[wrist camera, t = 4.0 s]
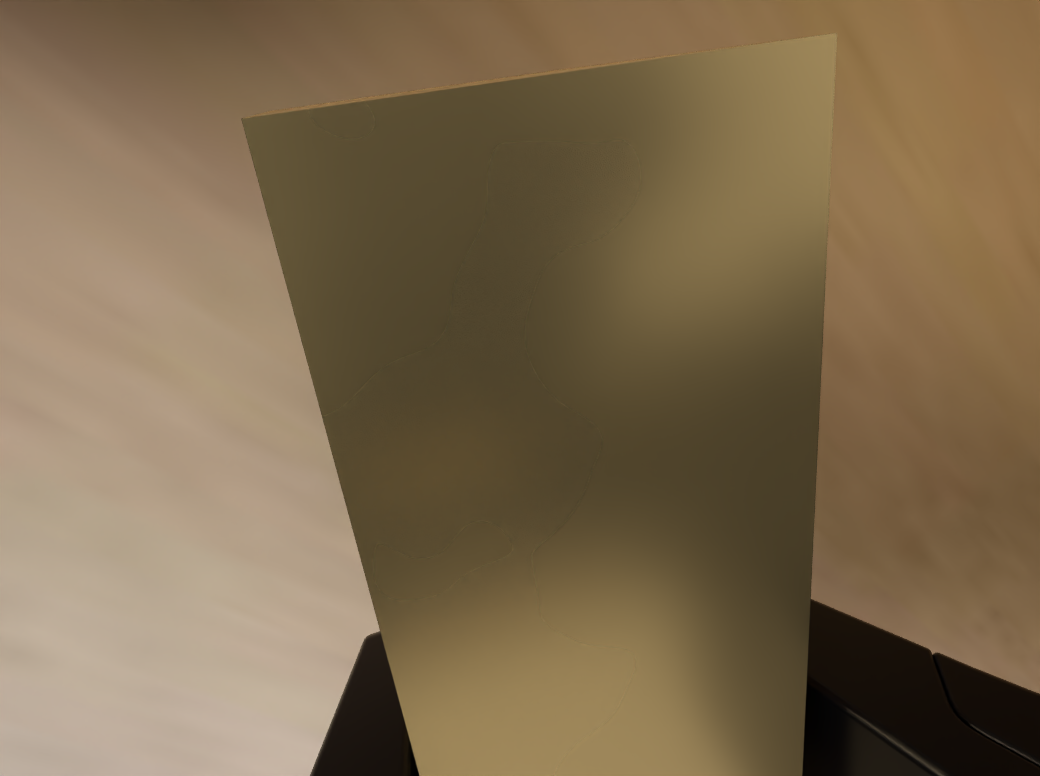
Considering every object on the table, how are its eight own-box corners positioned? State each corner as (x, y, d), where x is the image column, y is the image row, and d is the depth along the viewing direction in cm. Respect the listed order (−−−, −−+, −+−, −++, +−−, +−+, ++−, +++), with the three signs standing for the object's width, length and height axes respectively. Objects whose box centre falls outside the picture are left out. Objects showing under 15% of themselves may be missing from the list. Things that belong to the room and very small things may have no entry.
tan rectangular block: (627, 807, 13) (785, 1138, 9) (464, 870, 12) (550, 1259, 8) (553, 69, 8) (836, 34, 4) (269, 110, 7) (240, 120, 3)
